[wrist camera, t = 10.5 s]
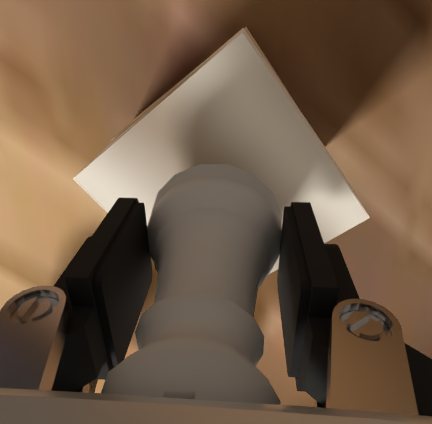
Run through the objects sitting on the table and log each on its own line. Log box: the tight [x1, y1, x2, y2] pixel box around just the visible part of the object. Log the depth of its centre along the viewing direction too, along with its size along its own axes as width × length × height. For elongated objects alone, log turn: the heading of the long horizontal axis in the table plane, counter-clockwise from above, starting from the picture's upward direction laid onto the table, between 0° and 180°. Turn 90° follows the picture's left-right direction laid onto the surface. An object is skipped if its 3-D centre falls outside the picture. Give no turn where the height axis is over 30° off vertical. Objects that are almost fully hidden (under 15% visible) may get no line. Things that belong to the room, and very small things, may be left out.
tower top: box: [73, 28, 370, 274], centre depth 16 cm, size 8×8×4 cm
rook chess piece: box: [101, 164, 282, 405], centre depth 9 cm, size 4×4×8 cm
